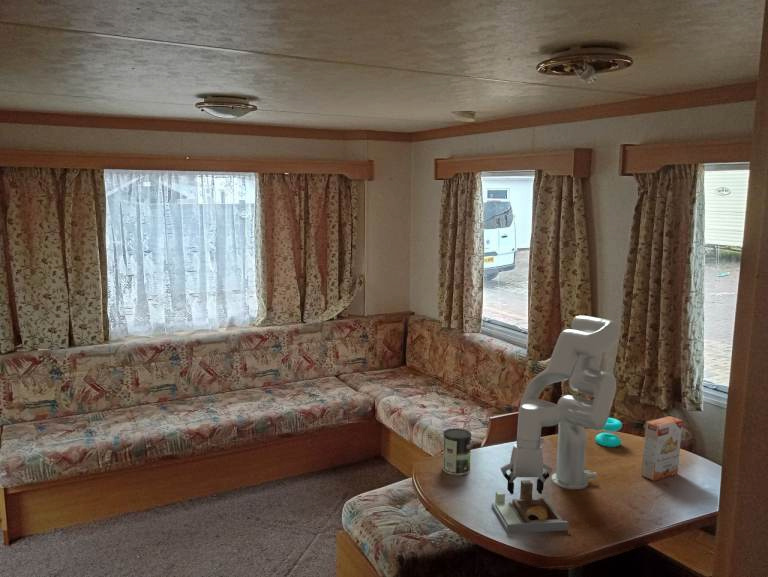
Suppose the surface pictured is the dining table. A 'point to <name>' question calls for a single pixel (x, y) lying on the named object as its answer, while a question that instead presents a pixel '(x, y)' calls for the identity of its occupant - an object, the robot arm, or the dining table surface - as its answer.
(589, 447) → the dining table surface
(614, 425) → the donuts
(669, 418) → the cracker box
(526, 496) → the frame
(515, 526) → the lane guide
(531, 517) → the pastry
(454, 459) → the coffee can
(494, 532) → the dining table surface
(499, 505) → the sage strip
